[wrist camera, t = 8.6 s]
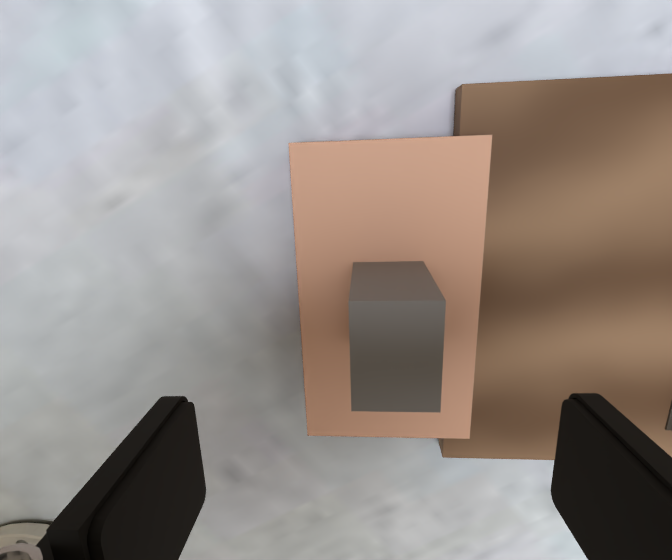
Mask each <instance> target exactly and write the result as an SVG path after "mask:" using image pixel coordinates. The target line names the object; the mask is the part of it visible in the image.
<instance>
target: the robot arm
mask: <svg viewBox="0 0 672 560" xmlns="http://www.w3.org/2000/svg"><path fill="white" fill-rule="evenodd" d="M205 495H206V485H205V478H204V471H203V464H202V457H201V450H200V443H199V436H198V429H197V421H196V414H195V408H194V404H193V403H192V402H188V400H187V398H186V397H184V396H164V397H161V398H160V399H159V400H158V401H157V402H156V403H155V404H154V406H153V407H152V408H151V409H150V410H149V411H148V413H147V414H146V415H145V416H144V417H143V418H142V419H141V421H140V422H139V423H138V424H137V425H136V426H135V428H134V429H133V430H132V431H131V432H130V433H129V435H128V436H127V437H126V438H125V439H124V440H123V441H122V443H121V444H120V445H119V446H118V447H117V448H116V450H115V451H114V452H113V453H112V454H111V455H110V456H109V458H108V459H107V460H106V461H105V462H104V463H103V465H102V466H101V467H100V468H99V469H98V470H97V472H96V473H95V474H94V475H93V476H92V477H91V478H90V480H89V481H88V482H87V483H86V484H85V485H84V487H83V488H82V489H81V490H80V491H79V492H78V494H77V495H76V496H75V497H74V498H73V499H72V500H71V502H70V503H69V504H68V505H67V506H66V507H65V509H64V510H63V511H62V512H61V513H60V514H59V515H58V517H57V518H56V519H55V520H54V521H53V522H52V524H51V525H48V524H40V523H18V524H9V525H6V526H2V527H0V560H178V559H179V557H180V555H181V552H182V550H183V548H184V546H185V544H186V541H187V539H188V537H189V535H190V532H191V530H192V528H193V526H194V524H195V521H196V519H197V517H198V515H199V513H200V510H201V508H202V506H203V503H204V500H205ZM551 495H552V500H553V502H554V505H555V507H556V508H557V510H558V512H559V513H560V515H561V516H562V518H563V520H564V521H565V523H566V525H567V526H568V528H569V529H570V531H571V533H572V534H573V536H574V538H575V539H576V541H577V542H578V544H579V546H580V547H581V549H582V551H583V552H584V554H585V555H586V557H587V559H588V560H672V457H671V456H670V455H669V454H667V453H666V452H665V451H664V450H663V449H662V448H661V447H659V446H658V445H657V444H656V443H655V442H654V441H653V440H652V439H650V438H649V437H648V436H647V435H646V434H645V433H644V432H642V431H641V430H640V429H639V428H638V427H637V426H636V425H634V424H633V423H632V422H631V421H630V420H629V419H628V418H626V417H625V416H624V415H623V414H622V413H621V412H620V411H619V410H617V409H616V408H615V407H614V406H613V405H612V404H611V403H609V402H608V401H607V400H606V399H605V398H604V397H603V396H601V395H600V394H598V393H573V394H571V395H570V396H569V398H568V399H565V400H564V401H563V402H562V407H561V415H560V422H559V430H558V438H557V446H556V453H555V461H554V469H553V477H552V484H551Z"/></svg>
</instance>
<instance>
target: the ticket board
mask: <svg viewBox="0 0 672 560" xmlns="http://www.w3.org/2000/svg"><path fill="white" fill-rule="evenodd" d="M474 135H492V146H491V160H490V173H489V186H488V200H487V213H486V226H485V240H484V253H483V266H482V279H481V293H480V306H479V319H478V333H477V346H476V359H475V373H474V386H473V399H472V413H471V426H470V439H456V438H439V445H440V449H441V453H442V457H448V458H491V459H534V460H555V453H556V446H557V438H558V430H559V422H560V415H561V407H562V402H563V401H564V400H565V399H568V398H569V396H570V395H571V394H573V393H598V394H600V395H601V396H603V397H604V398H605V399H606V400H607V401H608V402H609V403H611V404H612V405H613V406H614V407H615V408H616V409H617V410H619V411H620V412H621V413H622V414H623V415H624V416H625V417H626V418H628V419H629V420H630V421H631V422H632V423H633V424H634V425H636V426H637V427H638V428H639V429H640V430H641V431H642V432H644V433H645V434H646V435H647V436H648V437H649V438H650V439H652V440H653V441H654V442H655V443H656V444H657V445H658V446H659V447H661V448H662V449H663V450H664V451H665V452H666V453H667V454H669V455H670V456H671V457H672V74H654V75H635V76H615V77H595V78H575V79H555V80H536V81H516V82H496V83H476V84H462V85H461V86H459V87H458V88H457V89H456V94H455V115H454V135H453V136H474Z"/></svg>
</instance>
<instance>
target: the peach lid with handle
mask: <svg viewBox="0 0 672 560" xmlns="http://www.w3.org/2000/svg"><path fill="white" fill-rule="evenodd" d="M491 146H492V135H474V136H449V137H425V138H400V139H375V140H350V141H325V142H301V143H289V157H290V172H291V188H292V203H293V218H294V234H295V249H296V264H297V280H298V295H299V310H300V326H301V341H302V356H303V372H304V387H305V402H306V417H307V433H308V436H353V437H405V438H456V439H470V426H471V413H472V399H473V386H474V373H475V359H476V346H477V333H478V319H479V306H480V293H481V279H482V266H483V253H484V240H485V226H486V213H487V200H488V186H489V173H490V160H491Z"/></svg>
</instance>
